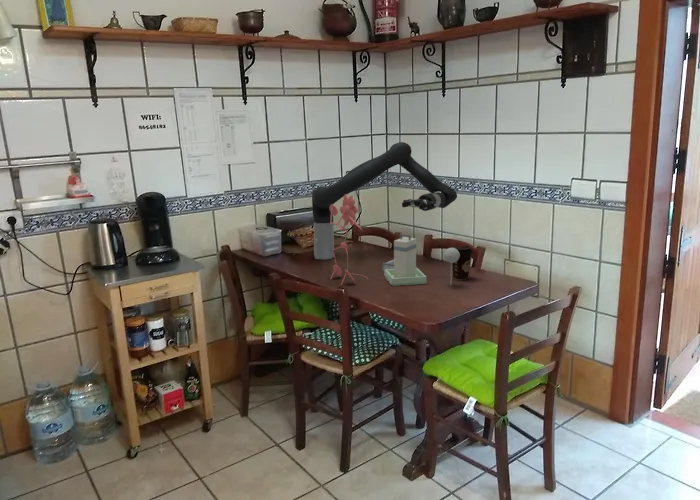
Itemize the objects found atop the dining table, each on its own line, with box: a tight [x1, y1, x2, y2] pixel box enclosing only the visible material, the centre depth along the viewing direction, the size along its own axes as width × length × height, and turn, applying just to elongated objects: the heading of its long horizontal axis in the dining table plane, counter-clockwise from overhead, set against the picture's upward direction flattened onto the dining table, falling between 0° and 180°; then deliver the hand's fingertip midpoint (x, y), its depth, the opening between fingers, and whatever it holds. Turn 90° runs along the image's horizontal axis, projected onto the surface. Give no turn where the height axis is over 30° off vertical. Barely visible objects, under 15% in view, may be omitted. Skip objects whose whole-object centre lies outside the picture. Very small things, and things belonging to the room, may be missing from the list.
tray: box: [383, 267, 428, 287], centre depth 221 cm, size 14×14×3 cm
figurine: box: [329, 194, 369, 286], centre depth 219 cm, size 15×26×35 cm, turn 29°
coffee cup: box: [452, 245, 474, 281], centre depth 222 cm, size 9×8×13 cm
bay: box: [381, 259, 394, 272], centre depth 236 cm, size 10×9×4 cm
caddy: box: [393, 233, 417, 278], centre depth 220 cm, size 8×6×18 cm
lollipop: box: [443, 247, 460, 286], centre depth 213 cm, size 6×6×15 cm
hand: (411, 205), depth 238 cm, fingers open, 8 cm apart
